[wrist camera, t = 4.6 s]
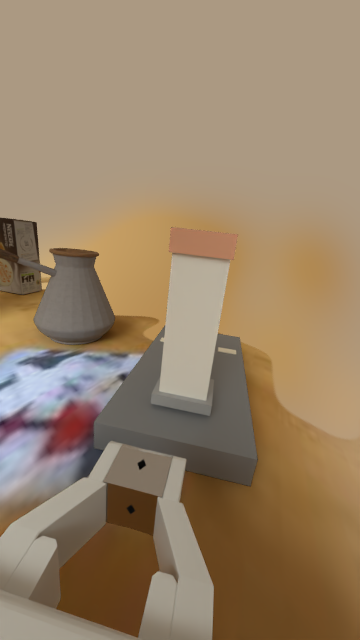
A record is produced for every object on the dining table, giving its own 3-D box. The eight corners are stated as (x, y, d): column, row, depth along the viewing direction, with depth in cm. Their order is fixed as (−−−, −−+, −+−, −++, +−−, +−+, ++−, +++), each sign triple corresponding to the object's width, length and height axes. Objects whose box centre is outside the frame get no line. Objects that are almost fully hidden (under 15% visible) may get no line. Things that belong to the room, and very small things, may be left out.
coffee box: (43, 290, 61) (38, 222, 56) (21, 295, 55) (14, 219, 50) (13, 285, 63) (6, 218, 58) (-11, 289, 57) (-22, 215, 52)
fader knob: (150, 403, 21) (166, 226, 16) (162, 378, 24) (177, 229, 20) (210, 416, 20) (242, 234, 15) (212, 388, 24) (239, 236, 19)
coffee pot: (94, 318, 46) (93, 235, 42) (128, 339, 39) (133, 241, 34) (-63, 343, 32) (-91, 218, 27) (-54, 384, 24) (-91, 223, 19)
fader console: (93, 448, 19) (93, 420, 18) (163, 339, 41) (165, 324, 40) (250, 486, 17) (257, 458, 17) (236, 351, 39) (239, 336, 38)
